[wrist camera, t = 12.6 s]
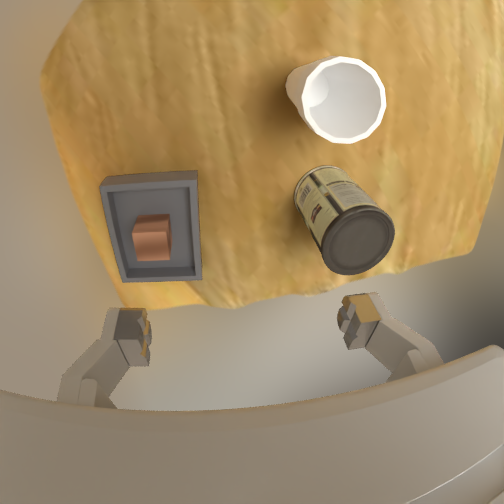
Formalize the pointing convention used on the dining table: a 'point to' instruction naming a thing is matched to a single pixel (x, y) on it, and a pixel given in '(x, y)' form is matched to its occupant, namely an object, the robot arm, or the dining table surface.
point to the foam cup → (338, 98)
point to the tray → (148, 203)
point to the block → (152, 237)
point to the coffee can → (343, 220)
